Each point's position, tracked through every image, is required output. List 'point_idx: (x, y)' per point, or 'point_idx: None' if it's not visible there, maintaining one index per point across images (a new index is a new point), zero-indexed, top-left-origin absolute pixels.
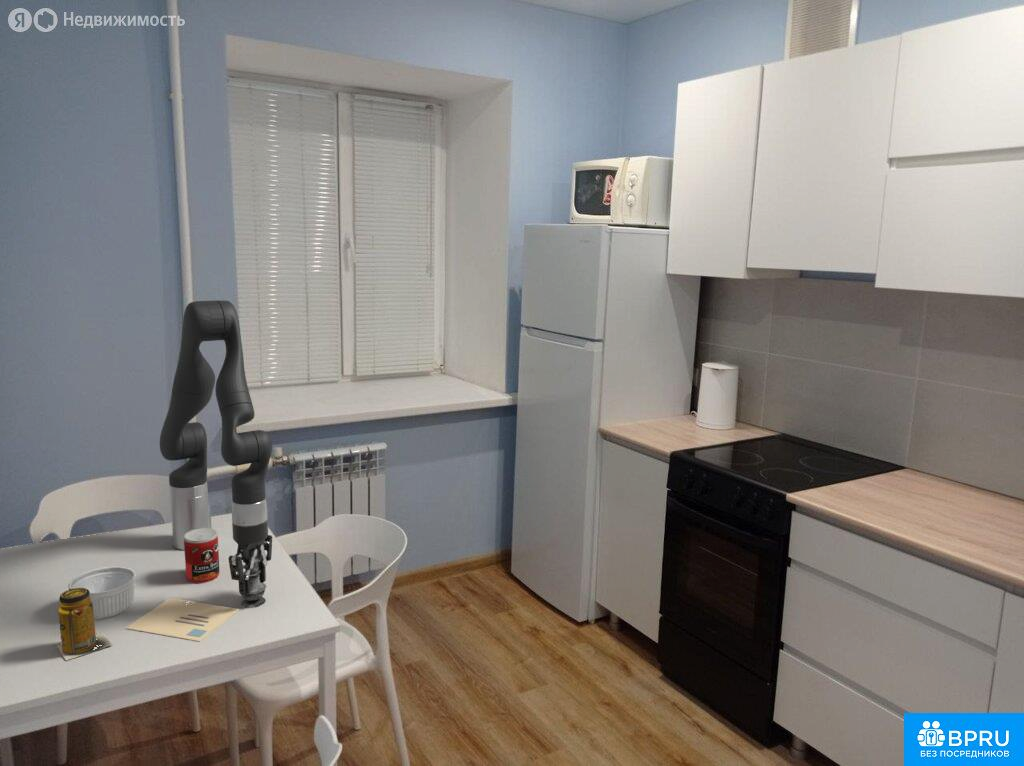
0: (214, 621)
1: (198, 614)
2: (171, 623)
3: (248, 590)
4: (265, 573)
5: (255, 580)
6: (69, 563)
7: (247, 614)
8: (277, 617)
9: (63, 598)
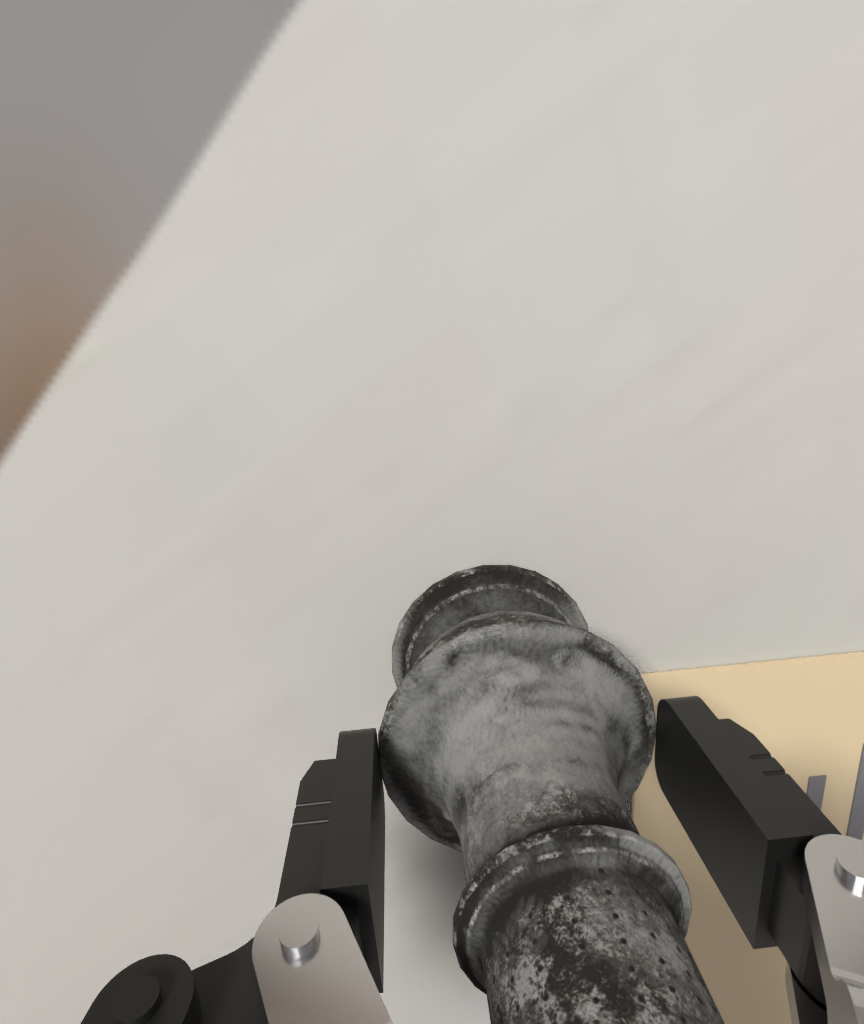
0: (854, 714)
1: None
2: None
3: (707, 722)
4: (331, 799)
5: (591, 778)
6: None
7: (688, 573)
8: (676, 289)
9: None
